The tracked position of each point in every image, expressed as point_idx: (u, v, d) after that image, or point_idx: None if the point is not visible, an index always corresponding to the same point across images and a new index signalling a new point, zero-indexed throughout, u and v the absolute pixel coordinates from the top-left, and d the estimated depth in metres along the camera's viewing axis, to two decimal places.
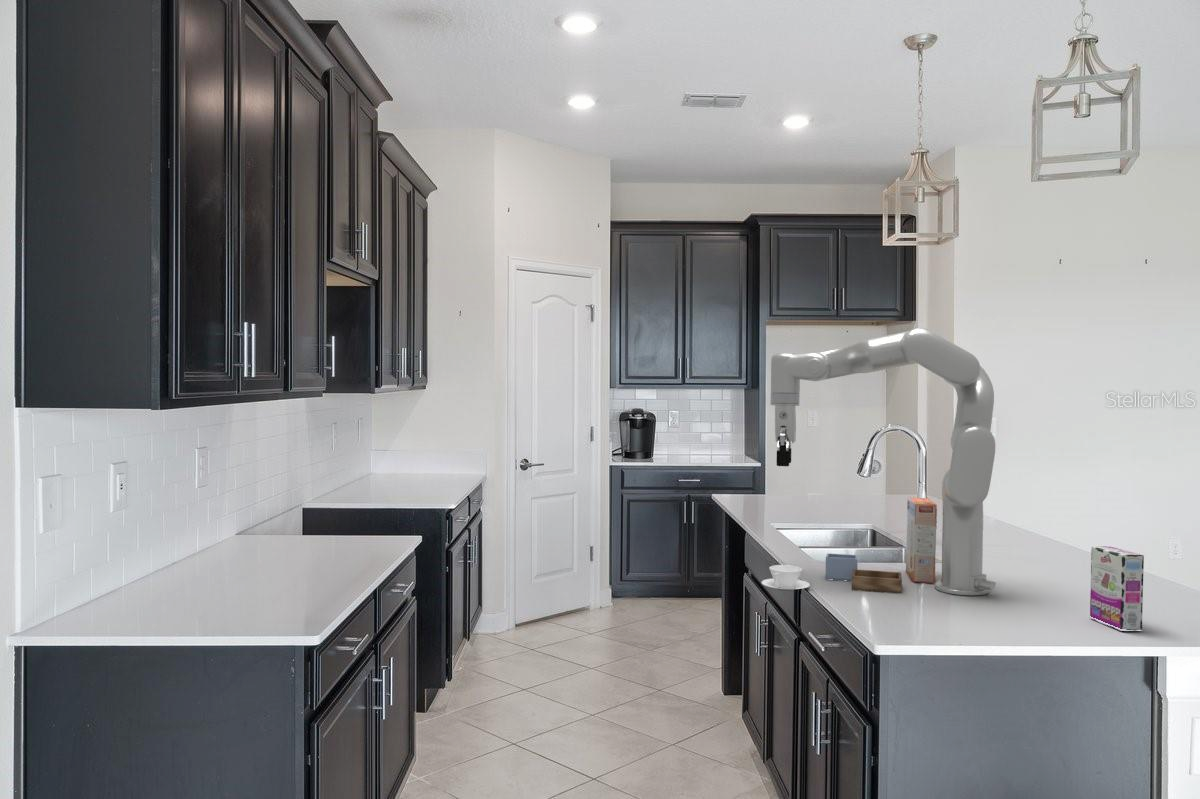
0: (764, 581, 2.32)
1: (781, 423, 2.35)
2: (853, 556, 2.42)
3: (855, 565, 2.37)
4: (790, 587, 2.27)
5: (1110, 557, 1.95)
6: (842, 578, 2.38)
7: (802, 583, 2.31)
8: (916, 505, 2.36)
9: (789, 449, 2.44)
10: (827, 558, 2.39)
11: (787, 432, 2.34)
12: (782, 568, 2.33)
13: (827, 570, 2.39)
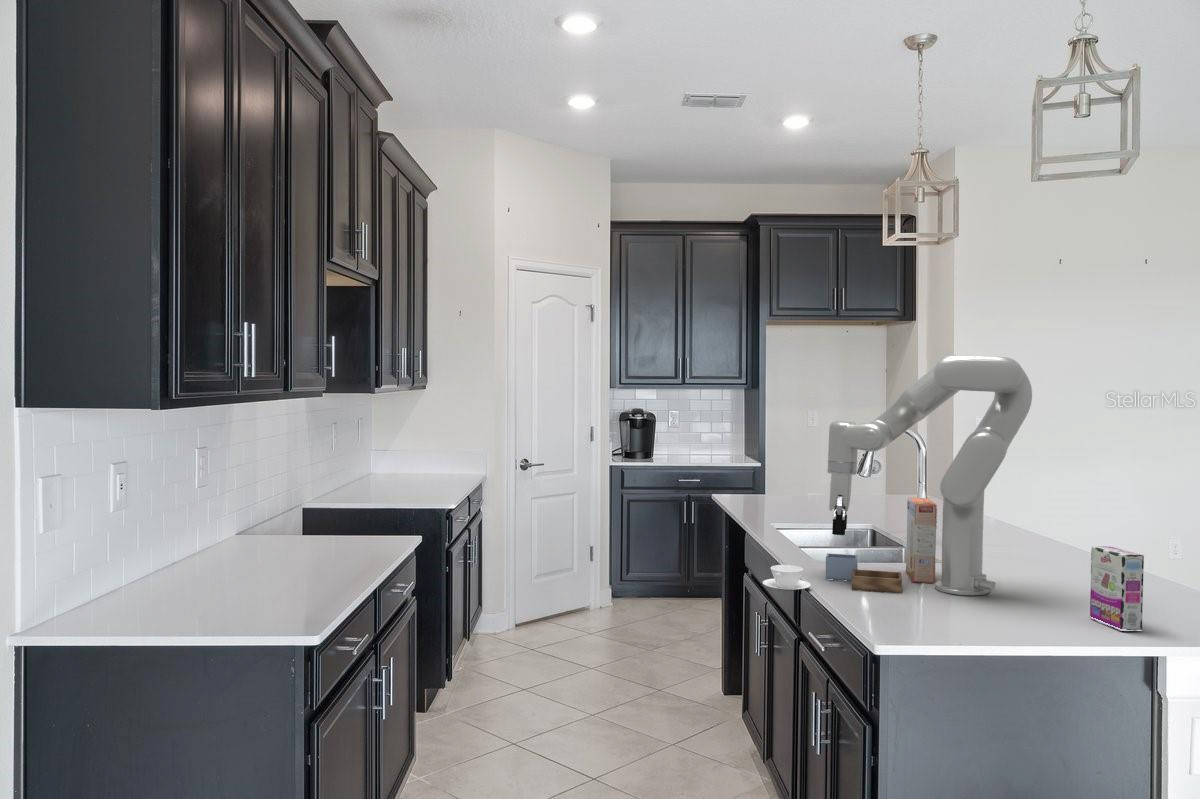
0: (765, 581, 2.31)
1: None
2: (853, 556, 2.42)
3: (855, 565, 2.37)
4: (791, 587, 2.27)
5: (1110, 557, 1.95)
6: (842, 578, 2.38)
7: (803, 583, 2.31)
8: (916, 505, 2.36)
9: None
10: (827, 558, 2.39)
11: None
12: (783, 568, 2.32)
13: (827, 570, 2.39)
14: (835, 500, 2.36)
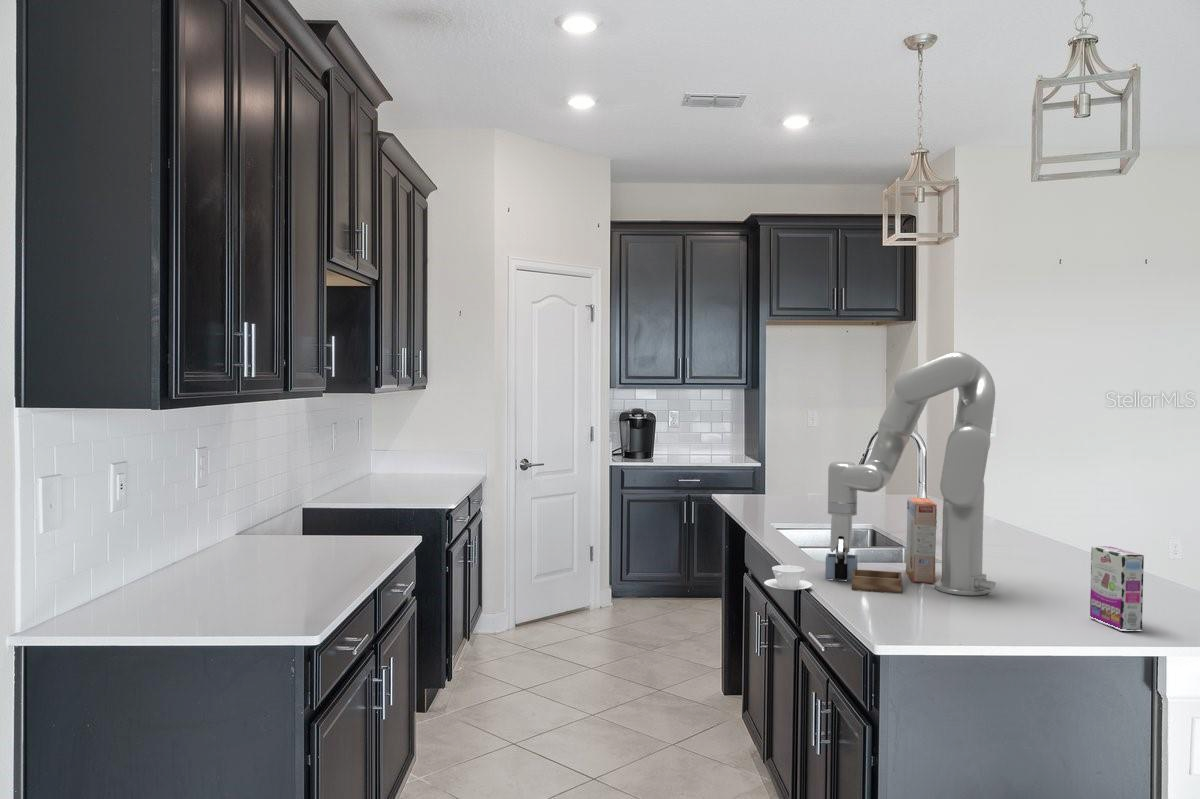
0: (767, 581, 2.31)
1: None
2: (853, 556, 2.42)
3: (855, 565, 2.37)
4: (793, 587, 2.27)
5: (1110, 557, 1.95)
6: None
7: (804, 583, 2.30)
8: (916, 505, 2.36)
9: None
10: (827, 558, 2.39)
11: None
12: (785, 568, 2.32)
13: (827, 570, 2.39)
14: (836, 541, 2.36)
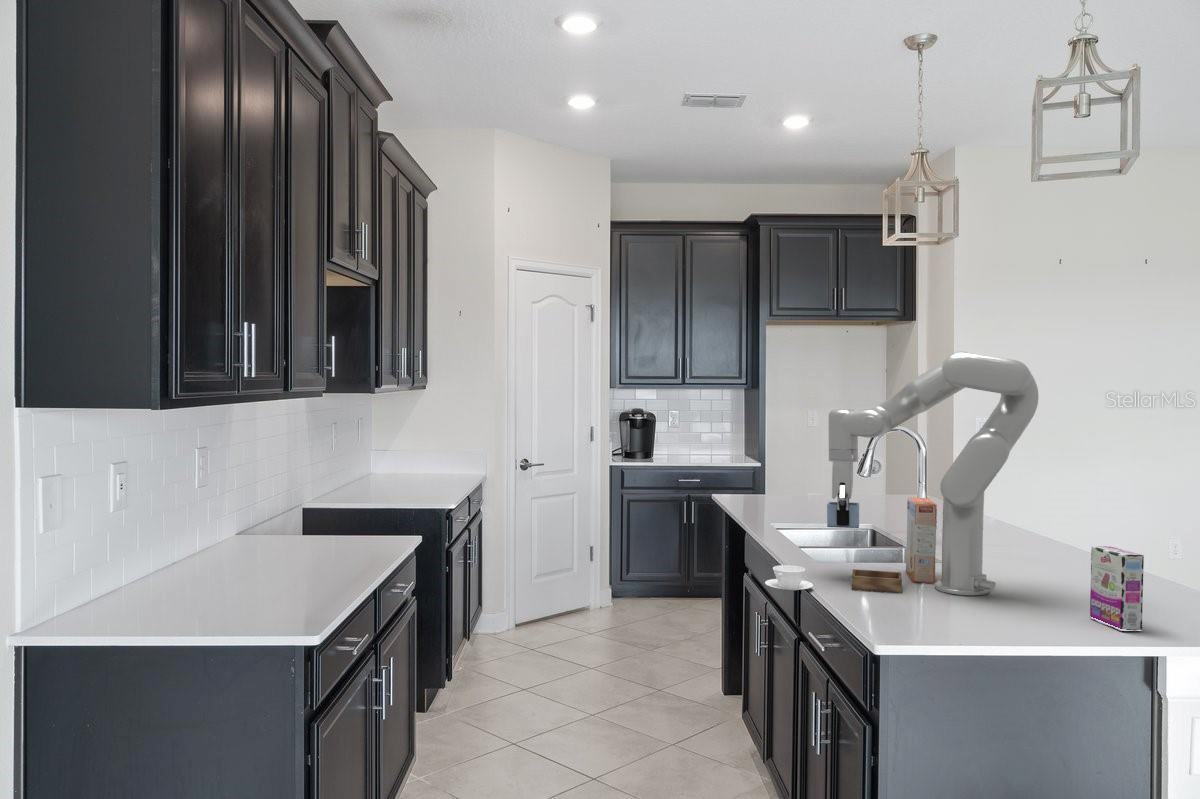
0: (767, 581, 2.31)
1: None
2: (854, 504, 2.42)
3: (857, 511, 2.37)
4: (793, 587, 2.27)
5: (1110, 557, 1.95)
6: None
7: (805, 583, 2.30)
8: (916, 505, 2.36)
9: None
10: (828, 505, 2.39)
11: None
12: (785, 568, 2.32)
13: (829, 517, 2.39)
14: (837, 488, 2.36)
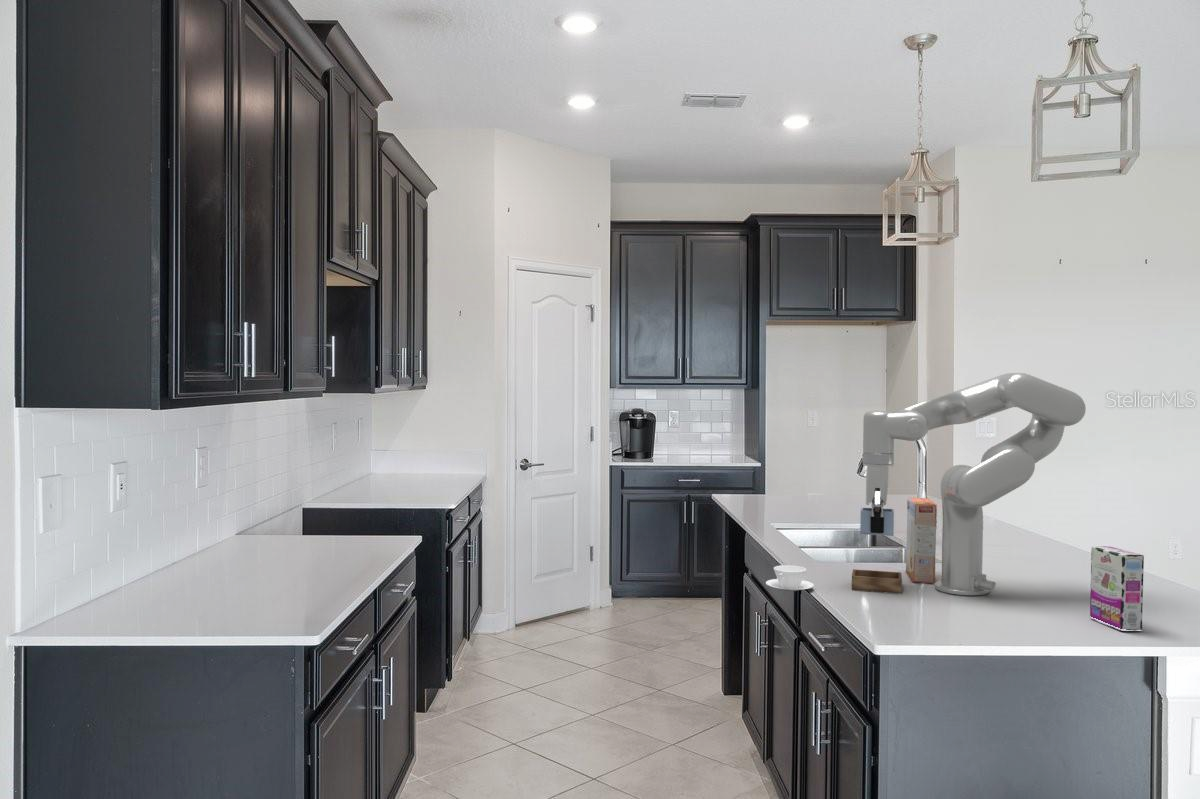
0: (768, 581, 2.31)
1: None
2: (889, 510, 2.31)
3: (892, 518, 2.26)
4: (794, 587, 2.26)
5: (1110, 557, 1.95)
6: None
7: (806, 583, 2.30)
8: (916, 505, 2.36)
9: None
10: (862, 511, 2.28)
11: None
12: (786, 568, 2.32)
13: (862, 524, 2.28)
14: (872, 493, 2.25)
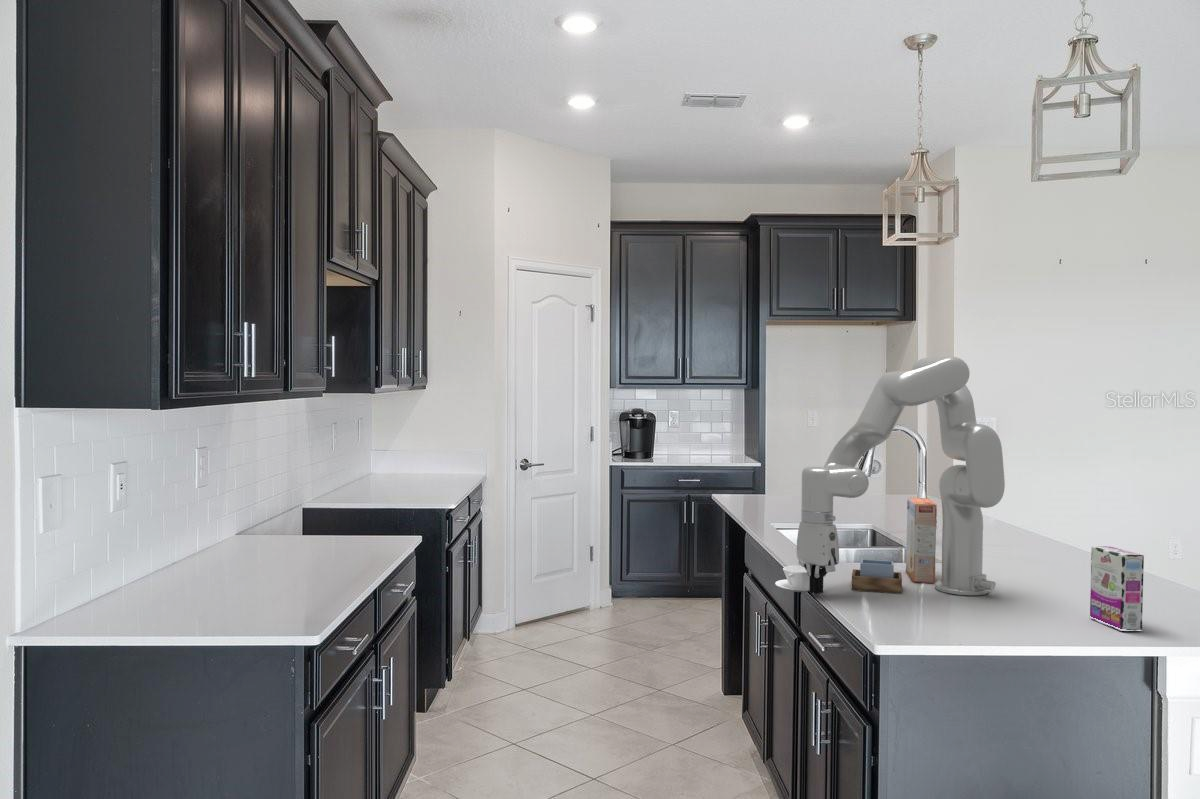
0: (777, 582, 2.30)
1: (831, 545, 2.16)
2: (889, 562, 2.31)
3: (891, 572, 2.26)
4: (804, 588, 2.25)
5: (1110, 557, 1.95)
6: None
7: None
8: (916, 505, 2.36)
9: None
10: (862, 564, 2.29)
11: (836, 554, 2.17)
12: (796, 569, 2.31)
13: None
14: None
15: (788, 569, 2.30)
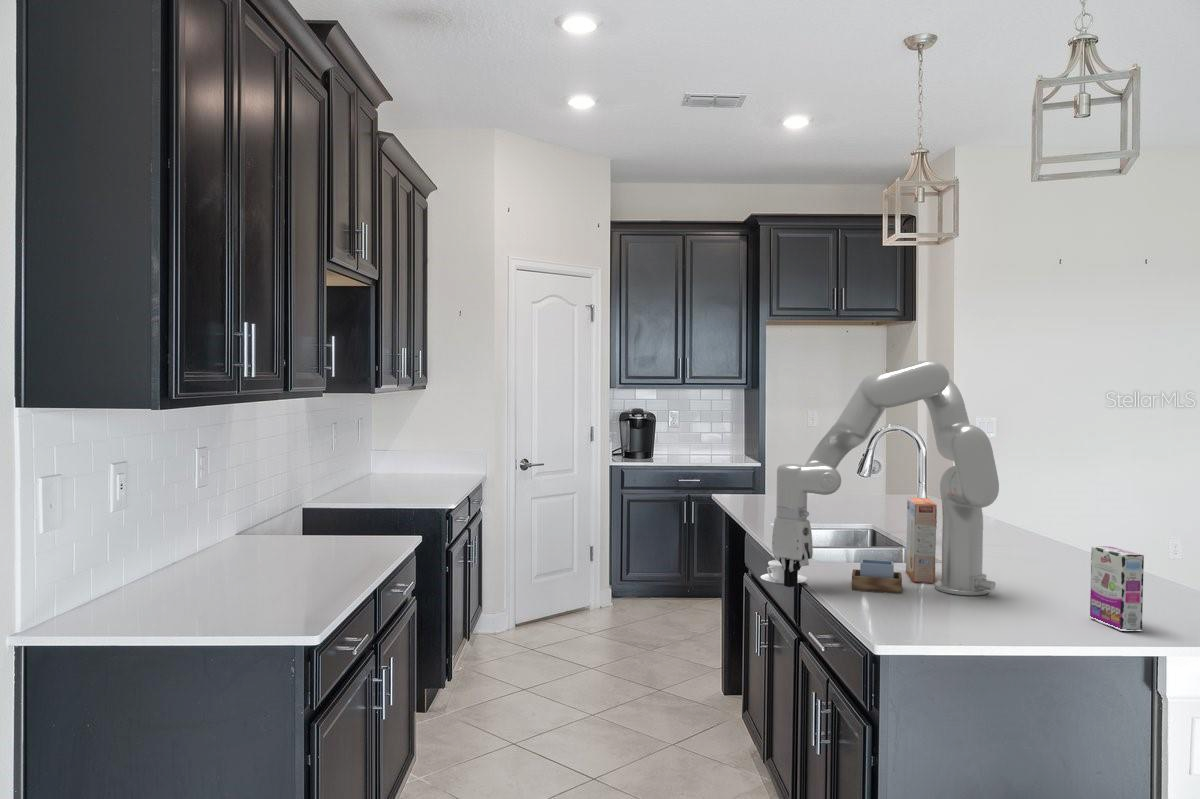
0: (766, 575, 2.39)
1: (805, 540, 2.23)
2: (889, 562, 2.31)
3: (891, 572, 2.26)
4: None
5: (1110, 557, 1.95)
6: None
7: (802, 578, 2.35)
8: (916, 505, 2.36)
9: None
10: (862, 564, 2.29)
11: (809, 549, 2.24)
12: None
13: None
14: None
15: (776, 563, 2.38)
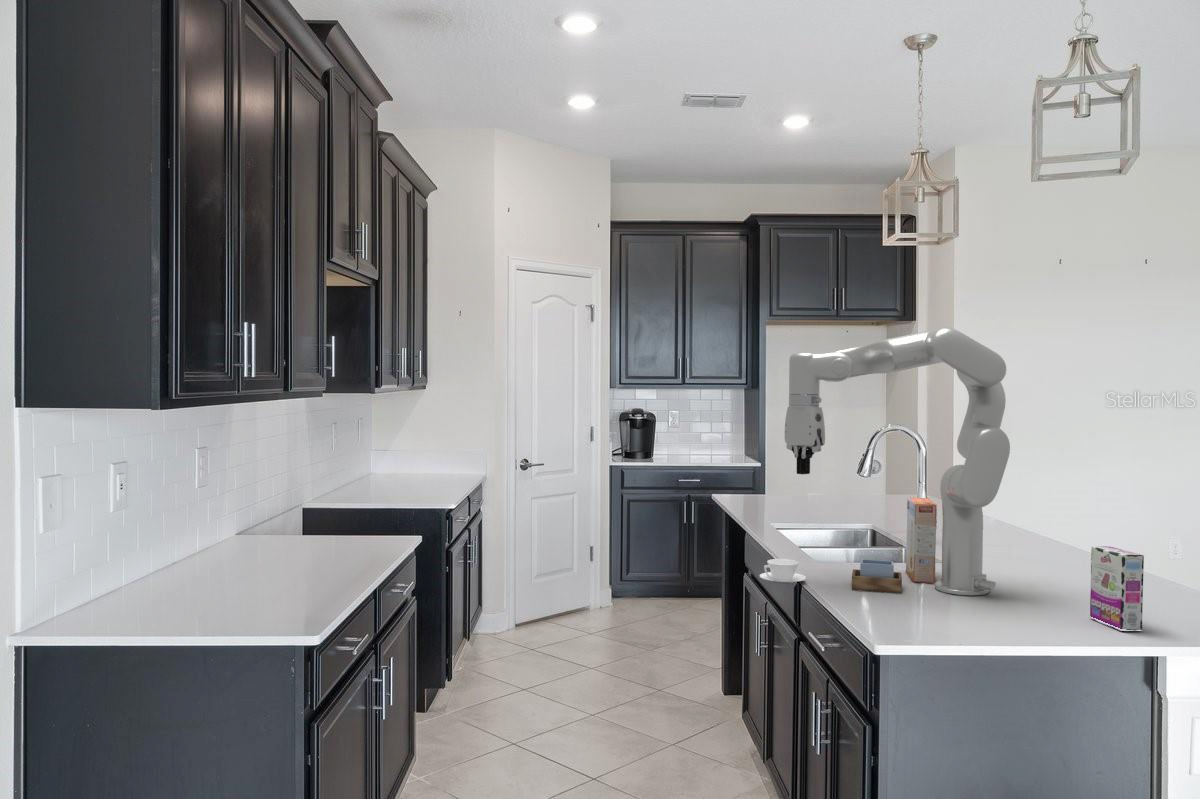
0: (767, 573, 2.42)
1: (817, 426, 2.25)
2: (889, 562, 2.31)
3: (891, 572, 2.26)
4: (783, 580, 2.35)
5: (1110, 557, 1.95)
6: None
7: (801, 578, 2.36)
8: (916, 505, 2.36)
9: None
10: (862, 564, 2.29)
11: (822, 435, 2.25)
12: (786, 562, 2.40)
13: None
14: None
15: (777, 561, 2.40)
